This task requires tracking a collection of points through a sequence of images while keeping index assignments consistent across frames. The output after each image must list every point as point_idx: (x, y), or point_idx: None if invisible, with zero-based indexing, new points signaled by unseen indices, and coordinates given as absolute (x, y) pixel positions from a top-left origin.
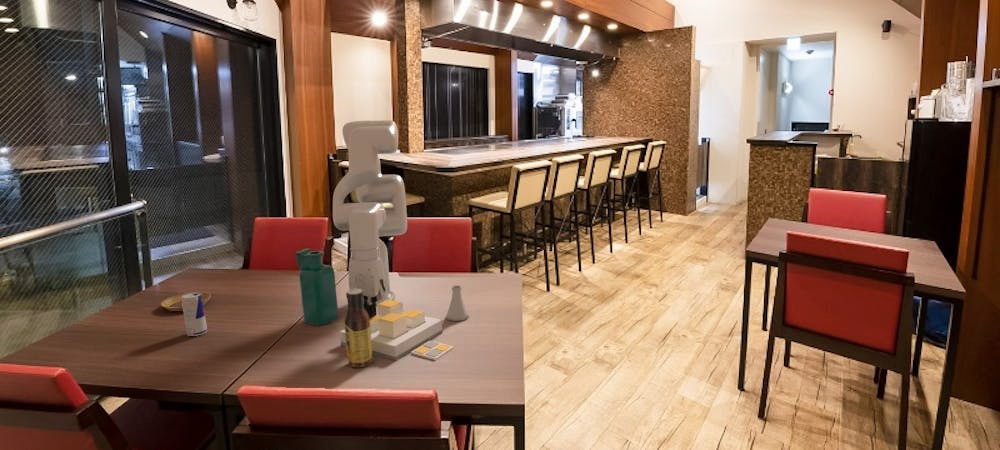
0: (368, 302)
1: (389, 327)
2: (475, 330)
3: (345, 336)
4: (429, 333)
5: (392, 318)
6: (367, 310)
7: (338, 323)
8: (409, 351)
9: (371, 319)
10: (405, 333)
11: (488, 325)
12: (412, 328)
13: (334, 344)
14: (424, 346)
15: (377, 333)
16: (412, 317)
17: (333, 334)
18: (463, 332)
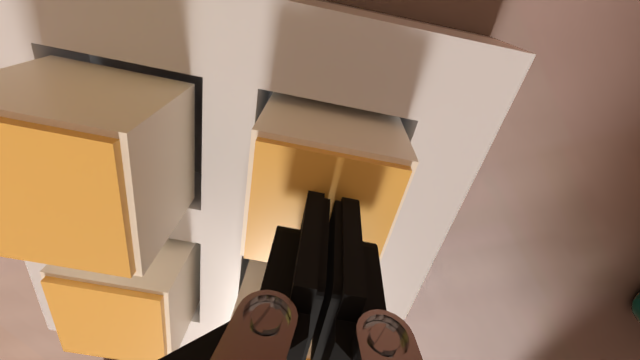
0: (287, 329)
1: (14, 87)
2: (4, 316)
3: (468, 37)
4: None
5: (4, 182)
6: (308, 239)
7: (607, 262)
8: None
9: (290, 192)
10: None
11: (4, 350)
12: None
13: (539, 29)
14: None
15: (222, 105)
16: (43, 283)
17: (595, 151)
18: (25, 296)
